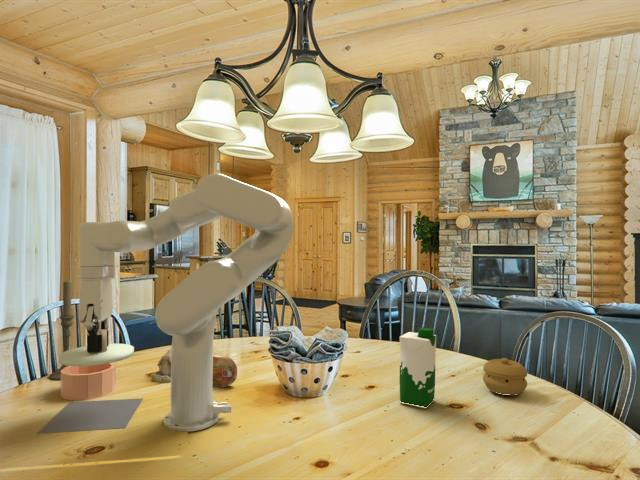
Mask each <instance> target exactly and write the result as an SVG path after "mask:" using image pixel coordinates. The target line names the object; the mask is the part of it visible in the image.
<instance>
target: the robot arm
mask: <svg viewBox="0 0 640 480" xmlns="http://www.w3.org/2000/svg"><path fill="white" fill-rule="evenodd" d="M293 217H294V216H293V213H292V210H291V208H290V206H289V204H288V203H287V202H286V201H285V200H284V199H282V198H281V197H279V196H277V195H275V194H274V193H271V192H269V191H266V190H264V189H261V188H258V187H256V186H253V185H250V184H248V183H245V182H242V181H240V180H237V179H234V178H232V177H230V176H227V175H225V174H223V173H210V174H208V175H205V176H204V177H202V179H201V180H200V181H199V182H198V184H197V186H196V188H195V189H193V190H192V189H191V190H190V191H188V192H186V193H182V194H181V195H178V196H175V197H173V198H172V199H171V200H170V202H169V206H168V207H167V208H166V209H165V210H164V211H163V212H161V213H159V214H157V215H154V216H152V217H150V218H146V219H144V220H141V221H135V220H114V221H108V222H107V221H105V222H104V221H98V222H97V221H88V222H87V221H86V222H84V223H83V222H82V223H81V224H80V225H79V232H78V234H79V235H78V237H79V241H78V242H79V243H78V245H79V250H78V251H79V281H81V282H80V283H81V284H80V289H79V300H78V302H79V303H78V321H79V323H81V324H83V323H84V327H85V330H86V346H87V352H101V351H102V334H101V329H106V330H107V346H108V345H109V344H110V343H109V327H110V326H109V318H110V317H111V316H112V315H113V303H114V302H113V284H112V280H115V279H116V274H115V273H116V271H115V270H116V269H115V268H116V263H115V262H116V261H115V260H116V259H115V257H116V256H115V255H116V254H115V253H131V252H132V253H134V252H140V253H141V252H144V251H149V250H152V249H155V248H156V247H158V246H162V245H164V244H166V243H169V242H171V241H173V240H175V239H177V238H179V237H181V236H184V235H185V234H187V233H188V232H190V231H193V230H194V229H198V228H200V227H202V226H204V225H207V224H209V223H212V222H214V221H216V220H217V221H218V220H219V219H222V218H226V219H228V220H230V221H233V222H236V223H238V224H241V225H243V226H246V227H249V228H250V229H254V230H256V231H255V232H254V233H252V235H251V236H250V237H248V238H247V239H245V240H244V241H243V242H241V243H240V244H239V245H238V246H237V247H236V248H235V249H233V250H232V251H231V252H230V253H229V254H227V255H226V256H224V257H223V258H220V259H219V258H218V259H216V260H215V259H214V260H210V261H208V262H205V263H204V264H202V265H200V266H199V267H198V268H196V269H195V270H194V271H192V272H191V273H190V274H189V275H188V276H187V277H185V278H184V279H183V280H182V281H181V282H180V283H177V285H176V286H174V288H172V289H171V290H170V291H169V292H167V293H166V294H165V295H164V296H163V297H162V298H161V299H160V301H158V304H157V306H156V308H155V313H154V314H155V315H154V316H155V317H154V318H155V322H156V323H155V324H156V325H157V327H158V329H160V330H161V332H163V333H164V334H166V335H169V336H172V339H171V348H170V349H171V382H170V411H169V412H168V413H166V414H165V415H164V417H163V419H162V420H163V421H162V424H163V425H164V427H166V428H167V429H170V430H173V431H180V432H185V431H187V432H189V433H190V432H197V431H201V430H202V431H203V430H205V429H207V428H210V427H212V426H213V425H215V424H216V423H217V422H218V421H219V419H220V414H231V413H232V403H231V404H227V403H228V402H227V401H222V402H218V401H217V400H215V396H213V390H214V389H213V386H214V385H213V355H214V339H215V338H214V336H215V335H214V334H215V326H216V325H215V324H216V318H217V311H218V310H219V309H220V308H221V307H222V306H224V305H225V304H226V303H227V302H230V301H231V300H234V299H235V298H236V297H238V296H240V294H241V293H242V292H244V290H245V289H246V288H247V287H248V286H250V285H251V284H252V283H253V282H254V281H255V280H257V279H258V278H259V277H260V276H261V275H263V274H264V272H266V271H267V270H268V269H269V268H271V266H273V265H274V264H275V263H276V262H277V261H278V260H279V259H280V258H281V257H282V256H283V255H284V253H285V252H286V251H287V249H288V248H289V246H290V244H291V242H292V239H293V235H294V229H295V227H294V218H293Z"/></svg>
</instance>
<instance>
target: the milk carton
mask: <svg viewBox="0 0 640 480" xmlns="http://www.w3.org/2000/svg"><path fill="white" fill-rule="evenodd" d="M434 330H435V329H434V328H432V327H426V326H425V327H418V329H417V332H412V331H408V332H406V333H404V334H402V335H400V336H399V402H400V401H401V402H404V403H409V404H414V405H419V406H424V407H427V406H428V405H429V404H430V403H431V402H432V401H433V399H434V400H435V394H436V393H435V392H436V354H437V353H436V352H437V349H436V348H437V335H436V334H434V333H435V331H434ZM433 402H434V401H433ZM433 402H432V403H433Z"/></svg>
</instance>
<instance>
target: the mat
mask: <svg viewBox="0 0 640 480" xmlns="http://www.w3.org/2000/svg"><path fill="white" fill-rule="evenodd" d="M143 400H144V398H141V397H140V398H125V399H122V398H121V399H109V400H108V399H107V400H106V399H105V400H104V399H103V400H87V401H86V400H85V401H84V400H82V401H69V402H68V403H67V404H66V405H64V407H63V408H62V409H61V410H60V411H58V413H56V415H54V416H53V417H52V418H51V419H50V420H49V421H48V422H47V423H46V424H45V425H44V426H43V427H42V428H40V430H38V432H36V434H37V435H39V434H54V433H58V434H59V433H73V432H74V433H75V432H86V431H87V432H90V431H91V432H92V431H103V430H104V431H106V430H119V429H126V428H127V426H128V424H129V423H130V421H131V419H132V418H133V417H134V415H135V413H136V411H137V410H138V408H139V407H140V405H141V404H142V402H143Z"/></svg>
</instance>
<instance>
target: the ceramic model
mask: <svg viewBox="0 0 640 480" xmlns="http://www.w3.org/2000/svg"><path fill="white" fill-rule="evenodd" d="M156 366H157V367H158V368H159V369H158V371H156V372H153V373H151V381H152V382H156V383H163V384H164V383H167V384H168V383H171V348H170V349H168V350H167V352H165V353H164V355H162V357H161V358H160V359H159V361H158V363H157V365H156Z"/></svg>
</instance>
